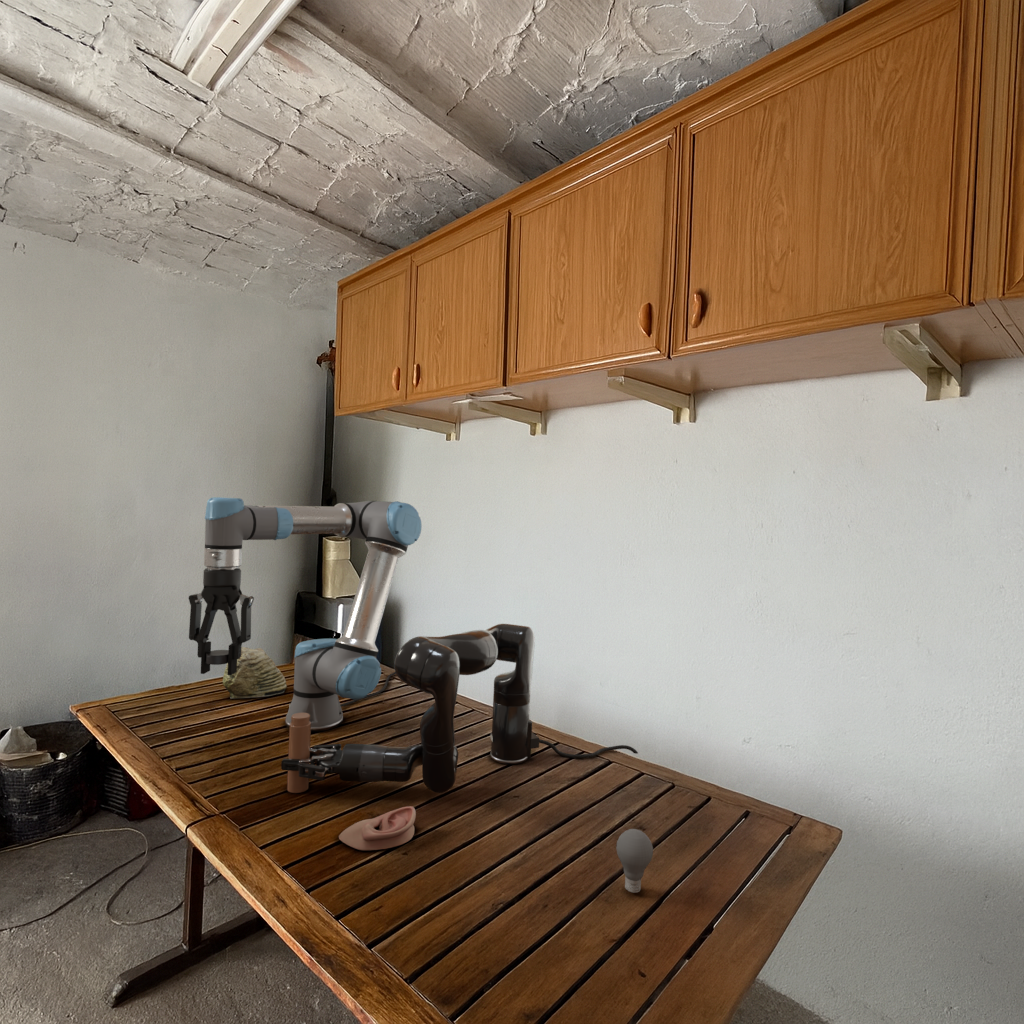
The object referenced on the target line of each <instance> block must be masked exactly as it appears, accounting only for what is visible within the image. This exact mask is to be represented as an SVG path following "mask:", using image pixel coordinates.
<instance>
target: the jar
mask: <svg viewBox="0 0 1024 1024" xmlns="http://www.w3.org/2000/svg"><path fill="white" fill-rule="evenodd" d="M309 719H310V714H308V713H295V714H293V715H292V717H291V723H290V725H289V728H288V729H289V730H288V732H289V733H288V751H287V752H288V754H287V755H288V756H287V759H300V760H302V759H310V748H311V736H312V735H311V734H312V732H311V722H310V721H309ZM306 764H310V763H306ZM307 773H308V772H307ZM286 782H287V784H286V790H287V792H288V793H292V794H299V793H304V792H306V791H307V790H309V787H310V786H309V785H310V778H304V777H299V771H290V770H287V780H286Z"/></svg>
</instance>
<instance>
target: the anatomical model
mask: <svg viewBox="0 0 1024 1024" xmlns="http://www.w3.org/2000/svg"><path fill="white" fill-rule="evenodd" d="M416 816H417V812H416V809H415V807H414V806H413V805H412V806H410V805H407V806H403V807H399V808H395V809H393V810H390V811H388V812H385V813H383V814H380V815H378V816H376V817H373V818H367V819H363V820H360V821H356V822H354V824H351V825H350V826H348V827H346V828H345V829H344V830H343V831H342V832H341V833H340V834H339V835H338V839H339V840H340V841H341V842H342V843H344V844H345V845H347V846H349V847H351V848H353V849H355V850H359V851H378V850H386V849H391V848H395V847H398V846H401V845H404V844H405V843H407V842H409V841H410V840H412V839H413V837H414V835H415V826H414V823H415V821H416Z"/></svg>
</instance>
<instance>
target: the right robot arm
mask: <svg viewBox="0 0 1024 1024" xmlns="http://www.w3.org/2000/svg"><path fill="white" fill-rule="evenodd" d="M535 647H536V635H535V631H534V629H533V628H532V627H530V626H526V625H520V624H514V623H513V624H511V623H497V624H495V625H492V626H491V627H489V628H486V629H475V630H469V631H464V632H460V633H454V634H448V635H443V636H425V635H420V636H419V635H418V636H415V637H412V638H411V639H409V640H407V641H406V642H405V643H404V644H403V645H402V646H401V647H400V648H399V650H398V651H397V653H396V656H395V658H394V663H393V664H394V667H393V668H394V672H396V674H395V675H396V676H397V678H398V679H399V680H401V681H402V682H403V683H404V684H406V685H409V686H410V687H413V688H414V689H417V690H418V691H421V692H423V693H425V694H429V695H431V696H432V697H433V699H434V702H433V704H431V705H430V706H429V707H428V708H427V709H426V710H425V712H424V713H423V714H422V717H421V719H420V723H419V735H420V742H421V743H420V744H414V745H410V746H386V745H381V744H365V743H364V744H363V743H345V745H344V746H343V748H342V744H341V743H332V744H331V743H329V744H318V745H317V744H315V745H314V746H313V747H310V759H302V760H300V759H288V758H283V759H282V760H281V763H280V769H281V770H282V771H288V770H290V771H299V777H304V778H309V780H316V781H322V782H323V781H325V780H326V775H333V774H338V775H339V779H340V780H341V781H343V782H363V783H364V782H365V783H379V782H391V783H392V782H394V783H395V782H396V783H406V782H409V781H410V780H411V779H412V777H413V774H414V772H415V770H416V769H417V768H418V767H420V766H422V767H421V777H422V782H423V784H424V786H425V787H426V788H427V789H428V790H429V791H431V792H433V793H436V794H443V793H447V792H448V791H450V790H451V789H452V788H453V787H454V785H455V783H456V780H457V772H458V771H457V770H458V762H459V750H458V748H457V746H456V734H455V733H456V732H455V721H454V720H455V712H456V711H455V710H456V709H455V708H456V705H457V697H458V691H459V689H458V688H459V681H460V676H472V675H477V674H479V673H483V672H485V671H488V670H489V669H490V668H492V667H493V666H494V664H495V663H496V661H501V662H506V663H507V662H508V663H514V664H515V667H514V670H512V671H508V672H502V673H499V674H497V675H496V676H495V677H494V680H493V700H492V719H491V733H490V740H491V742H490V745H491V746H490V754H489V755H490V756H489V757H490V759H491V760H492V761H494V762H496V763H499V764H504V765H518V764H523V763H525V762H526V761H527V760H531V759H532V750H533V749H539V748H540V744H543V745H546V746H547V747H549V748H551V749H552V750H553V751H554V753H555V754H557V755H558V756H561V757H563V758H568V759H588V758H594V757H596V756H598V755H600V754H602V753H604V752H610V751H616V750H629V751H630V752H632V753H633V754H636V755H637V754H639V752H638V751H637V750H636V749H635V748H634V747H632V746H630V745H627V744H619V745H614V746H608V747H602V748H599V749H598V750H596V751H594V752H591V753H580V754H574V753H573V754H571V753H566V752H563V751H561V750H559V749H558V748H557V747H556V745H554V743H552V742H550V741H548V740H545V739H540V737H539V736H538V735H537V734H535V733H534V732H533V721H532V720H531V719H530V710H531V709H530V708H531V687H532V680H533V679H532V678H533V670H534V669H533V668H534V658H535V657H534V656H535V649H536V648H535ZM306 763H309V764H306ZM307 772H308V773H307Z"/></svg>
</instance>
